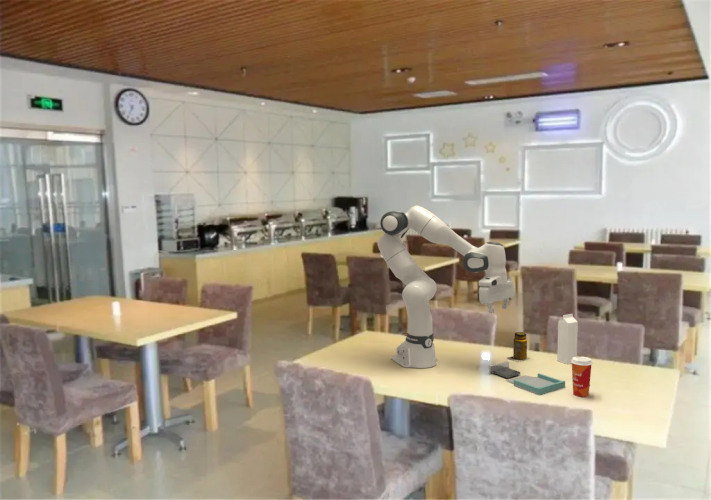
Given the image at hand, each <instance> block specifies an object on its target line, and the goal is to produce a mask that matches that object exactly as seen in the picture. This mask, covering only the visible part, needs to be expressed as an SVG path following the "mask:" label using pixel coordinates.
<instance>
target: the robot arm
mask: <svg viewBox="0 0 711 500" xmlns="http://www.w3.org/2000/svg"><path fill="white" fill-rule="evenodd" d="M379 222H380V224H379V225H380V229H381V230H382V231H383V235H382V236H380V238H378V241H377V243H376V245H377V248H378V250H379V251H380V255H381V256H382V258H383V260H384V261H385V263H386V264H387V266H388V268H390V271H391V272H392V273H393V275H394V276H395V278H397V279H399V280H400V281H401V282H402V283H403V284H404V285H405V286H404V288H403V289H402V292H401V297H402V300H403V302H404V304H405V308H406V314H407V332H405V333H404V336H405V340H404V341H403V342H402V343H400V344H399V345H398V346H397V347H396V354H394V355H392V356H391V360H392V361H394V362H395V363H397V364H399V365H400V366H401V367H403V368H416V369H426V368H427V369H428V368H432V367H435V366H436V365H437V361H438V358H437V357H436V356H437V355H436V347H435V343H434V340H435V339H434V333H433V315H432V313H431V309H430V300H432V299H433V298H434V296H435V295H436V293H437V290H438V287H437V286H438V285H437V283H436V281H435V280H434V279H433V278H431V277H430V276H429V275H428V274H427V273H426V272H425V271H424V270H423V269H422V268H421V267H420V266H419V264H417V262H416V261H415V260H414V258H413V257H412V255H411V253H410V252H409V251H408V250H407V248H406V246H405V245H404V243H403V242H402V239H403V237H404V236H405V235H406V233H407V232H408V231H409V230H413V231H414V232H416V233H417V234H418V235H419V236H421V237H422V238H424V239H425V240H427V241H429V242H430V243H432V244H440V245H446V246H448V247H450V248H451V249H453V250H455V251H456V252H457V253H459V254H461V255H462V256H463V258H462V267H463V268H464V269H465V270H466V271H467V272H469V273H471V274H473V273H474V274H475V273H476V274H478V273H480V272H485V275H484V276H483V277H482V278H481V279H480V280H478V286H479V288H478V298H479V300H478V301H479V302H480V304H482V305H485V306H486V307H487V310H488V313H489V314H493V313H495V309H494V307H493V303H496V302H500V301H502V302H503V304H501V308H502V310H507V309H508V304H509V302H510V299H511V298H514V297H515V288H514V283H513V281H512V278H511V277H510V276H508V275H507V274H508V273H507V268H506V264H507V257H506V251H505V246H504V245H503V244H502V243H500V242H497V241H487V242H485V243H484V244H483V245H481V246H477V245H473V244H472V243H470V242H469V241H468V240H467V239H465V238H463V237H462V236H460V235H459V234H457V232H455V231H454V230H453V229H452V228H450V226H448V225H447V224H446V222H444V220H442V219H440V218H439V217H438V216H437V215H435V214H434V213H433V212H432V211H429V210H428V209H426V208H425V207H422V206H421V205H414V206H412V207H409V209H408V210H407V212H403V211H399V210H393V211H387V212H385V213H384V214H383V215H382V217H381V218H380V220H379Z"/></svg>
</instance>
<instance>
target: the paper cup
mask: <svg viewBox="0 0 711 500" xmlns="http://www.w3.org/2000/svg"><path fill="white" fill-rule="evenodd" d="M571 362H572V363H571V372H572V375H571V377H572V378H571V379H572V381H571V382H572V393H573V395H574V396H576V397H580V398H586V397H589V394H590V386H591V375H592V374H591V373H592V364H593V361H592V358H590V357H587V356H577V357H573V358H572V360H571Z"/></svg>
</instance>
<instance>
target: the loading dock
mask: <svg viewBox="0 0 711 500" xmlns="http://www.w3.org/2000/svg"><path fill="white" fill-rule="evenodd" d="M505 382H507V383H509V384H512V385H513V386H514V387H515V388H516V387H517V388H518V389H519V388H520V389H521V390H525V391H527V392H529V393H530V392H531V393H532V394H535V395H538V396H542V395H545V394H547V393H551V392H555V391H559V390H561V389H565V388H566V381H565V380H561V379H558V378H554V377H553V376H549V375H545V374H543V373H537V376H530V375H522V376H517V377H514V378H510V379H506V380H505Z"/></svg>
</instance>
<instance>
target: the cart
mask: <svg viewBox="0 0 711 500" xmlns="http://www.w3.org/2000/svg"><path fill="white" fill-rule="evenodd" d="M509 363H510V362H508V361H504V362H500V363H495V364H492V365H488V373H489V374H493V375H498V376H501V377H503V378H505V379H509V378H511V377H515V376H517V377H519V376H520V375H521V371H519V370H517V369H512V368H510V364H509Z"/></svg>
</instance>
